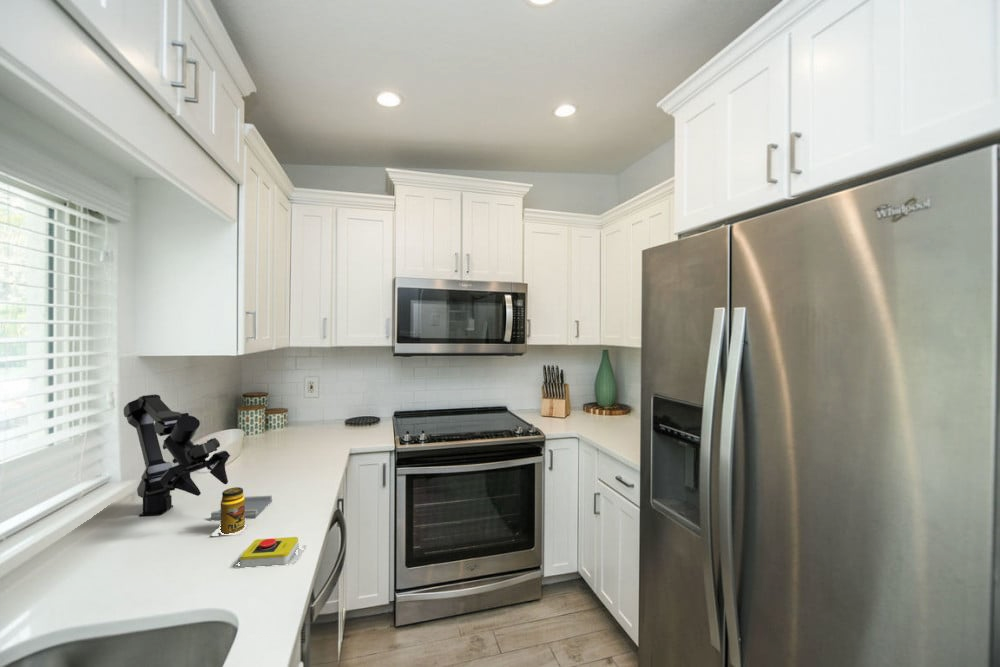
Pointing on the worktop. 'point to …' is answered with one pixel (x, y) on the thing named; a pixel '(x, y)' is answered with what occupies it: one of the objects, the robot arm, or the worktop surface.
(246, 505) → the mounting plate
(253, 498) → the guide rails
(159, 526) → the worktop surface
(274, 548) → the emergency button
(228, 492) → the condiment
